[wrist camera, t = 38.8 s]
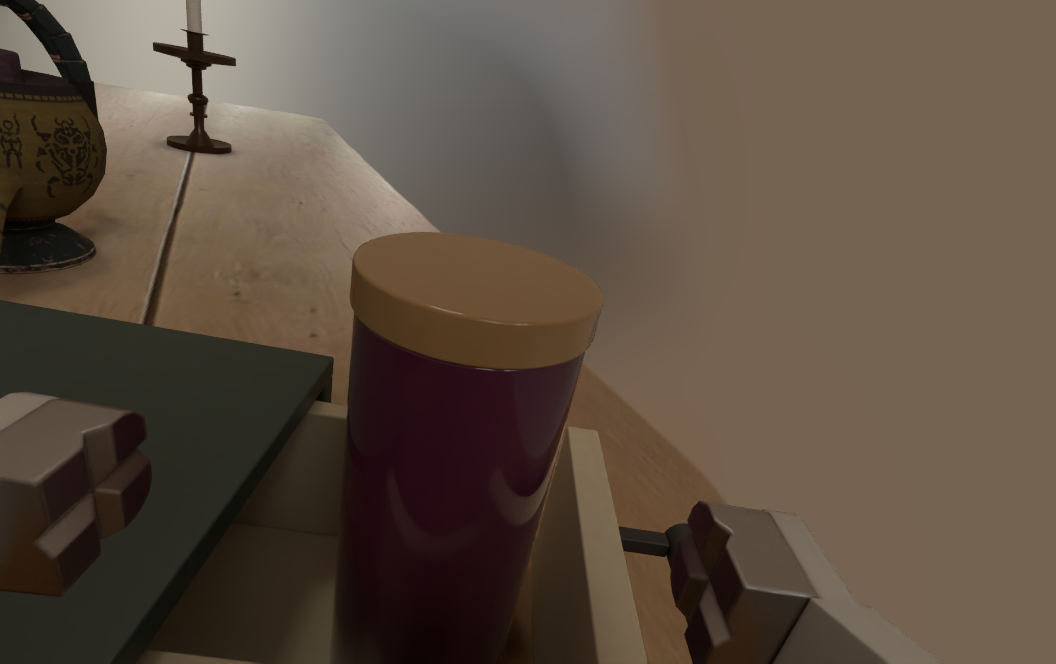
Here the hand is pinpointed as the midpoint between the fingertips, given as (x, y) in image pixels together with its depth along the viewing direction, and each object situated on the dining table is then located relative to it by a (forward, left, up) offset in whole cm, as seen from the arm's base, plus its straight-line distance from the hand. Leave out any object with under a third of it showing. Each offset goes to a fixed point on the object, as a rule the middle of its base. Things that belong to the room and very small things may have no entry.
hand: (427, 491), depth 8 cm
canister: (0, -5, -11) cm, 12 cm away
